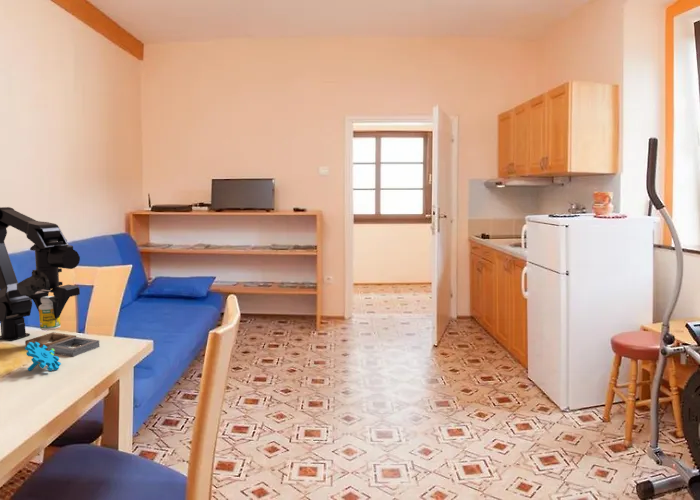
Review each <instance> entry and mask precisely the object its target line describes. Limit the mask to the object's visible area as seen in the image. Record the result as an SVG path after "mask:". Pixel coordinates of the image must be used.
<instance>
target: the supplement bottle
mask: <svg viewBox="0 0 700 500" xmlns="http://www.w3.org/2000/svg"><path fill="white" fill-rule="evenodd" d="M53 296H54V295H48V296H46V297H42V298H41V303H42V304H41V305H40V306H39V312H38V317H39V329H40V331H55V330H58V329H60V328H61V315H60V316H59V318H55V316H54V309H53V302H52V301H51V300H50V299H49V297H53Z"/></svg>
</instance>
